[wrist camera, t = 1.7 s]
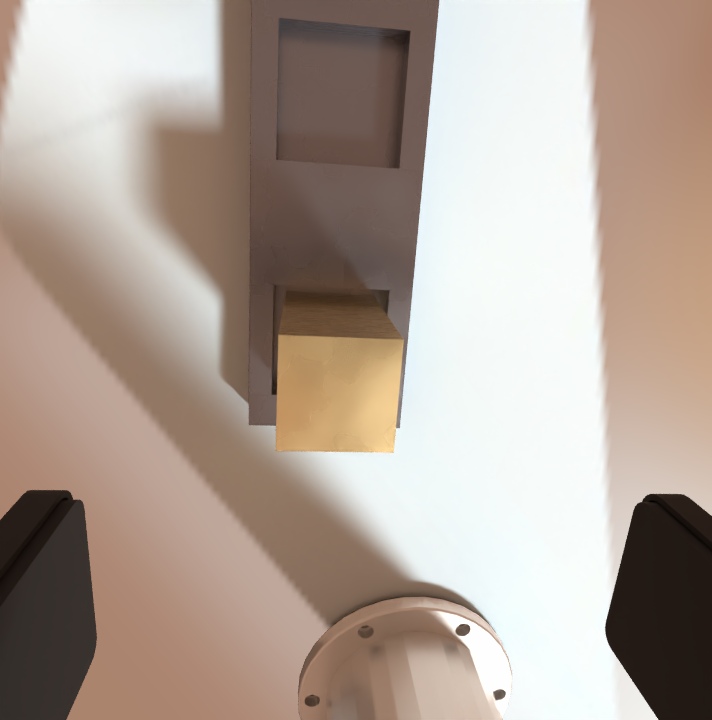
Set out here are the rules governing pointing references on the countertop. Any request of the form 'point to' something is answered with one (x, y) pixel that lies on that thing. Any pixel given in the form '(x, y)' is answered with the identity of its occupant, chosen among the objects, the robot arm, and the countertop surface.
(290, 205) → the grey slotted board
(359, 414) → the wooden block
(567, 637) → the countertop surface
